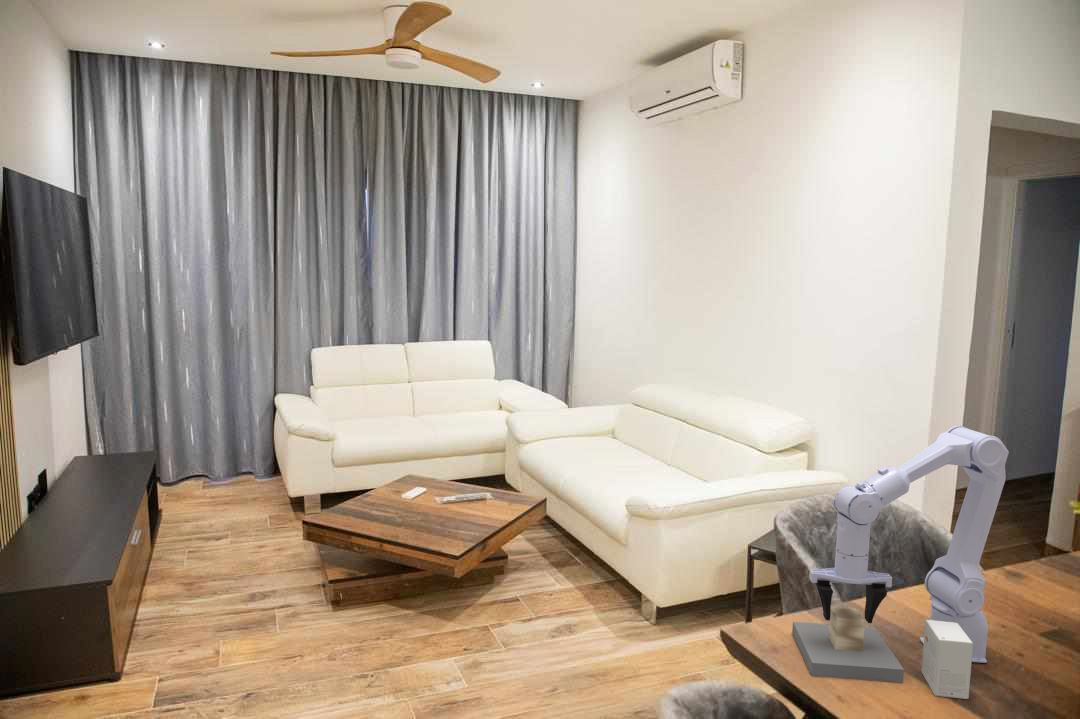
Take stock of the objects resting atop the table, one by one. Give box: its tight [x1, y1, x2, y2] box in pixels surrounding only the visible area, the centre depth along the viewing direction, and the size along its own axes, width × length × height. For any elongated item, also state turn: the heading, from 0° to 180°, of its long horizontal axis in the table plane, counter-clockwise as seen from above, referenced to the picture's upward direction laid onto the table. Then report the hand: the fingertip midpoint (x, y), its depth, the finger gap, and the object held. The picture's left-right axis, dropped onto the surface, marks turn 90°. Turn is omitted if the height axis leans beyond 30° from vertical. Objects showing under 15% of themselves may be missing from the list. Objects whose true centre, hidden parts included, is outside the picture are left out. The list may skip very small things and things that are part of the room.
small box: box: [920, 619, 973, 700], centre depth 134 cm, size 8×6×10 cm
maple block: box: [828, 606, 866, 651], centre depth 143 cm, size 5×5×6 cm
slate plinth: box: [791, 621, 905, 684], centre depth 144 cm, size 16×16×2 cm
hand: (847, 619), depth 143 cm, fingers open, 7 cm apart
